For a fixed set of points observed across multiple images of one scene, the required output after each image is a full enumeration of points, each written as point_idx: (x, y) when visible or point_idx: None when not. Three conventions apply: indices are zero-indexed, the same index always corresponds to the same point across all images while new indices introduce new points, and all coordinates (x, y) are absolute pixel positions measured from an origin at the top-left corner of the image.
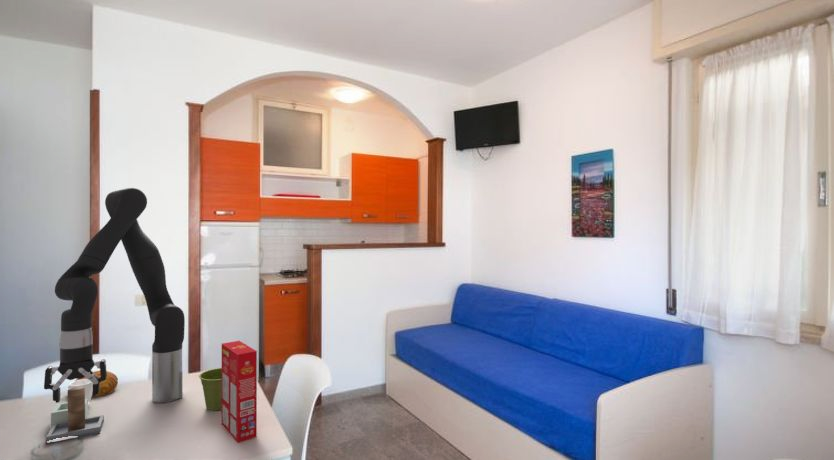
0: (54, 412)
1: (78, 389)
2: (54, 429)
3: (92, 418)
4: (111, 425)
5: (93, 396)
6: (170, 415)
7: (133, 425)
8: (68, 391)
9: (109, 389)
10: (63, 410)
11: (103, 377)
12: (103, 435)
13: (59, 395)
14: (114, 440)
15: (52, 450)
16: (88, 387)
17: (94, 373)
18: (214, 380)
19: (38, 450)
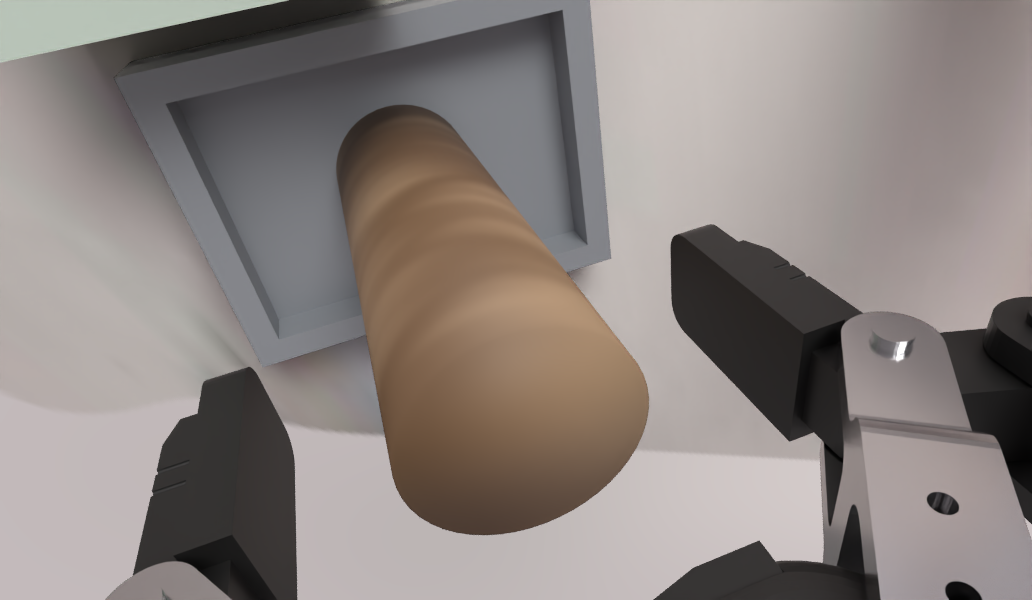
0: (41, 53)
1: (571, 465)
2: (218, 207)
3: (492, 25)
4: (640, 99)
5: (682, 313)
6: (1001, 31)
7: (780, 149)
8: (439, 525)
9: None
10: (143, 3)
11: (1027, 469)
12: (618, 267)
13: (270, 478)
14: (688, 343)
15: (373, 415)
16: None
17: (988, 433)
18: None
19: None
